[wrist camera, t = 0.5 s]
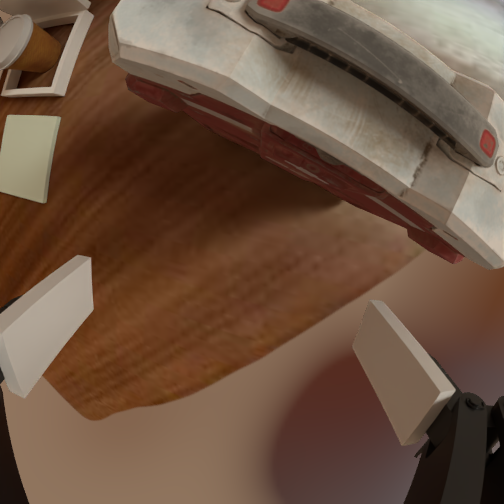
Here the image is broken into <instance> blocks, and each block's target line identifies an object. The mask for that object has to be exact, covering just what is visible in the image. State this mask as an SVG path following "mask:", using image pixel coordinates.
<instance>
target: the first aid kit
mask: <svg viewBox="0 0 504 504" xmlns="http://www.w3.org/2000/svg"><path fill="white" fill-rule="evenodd" d="M109 50H110V54H111V58H112V62H113V63H115V64H116V65H118V66H119V67H121V68H122V69H124V70H125V71H127V72H128V75H127V77H126V79H125V80H126V83H127V87H128V90H130V91H131V92H133V93H135V94H136V95H138V96H140V97H141V98H143V99H145V100H146V101H148V102H150V103H153V104H155V105H158V106H160V107H163V108H166V109H168V110H171V111H173V112H176V113H177V112H179V111H181V110H182V111H184V112H185V113H186V114H188V115H189V116H190V117H192V118H193V119H194V120H196V121H197V122H198V123H200V124H201V125H202V126H204V127H205V128H206V129H208V130H210V131H212V132H214V133H216V134H218V135H220V136H222V137H224V138H226V139H228V140H230V141H232V142H234V143H237V144H239V145H241V146H243V147H245V148H247V149H249V150H251V151H253V152H255V153H257V154H259V155H260V158H262V159H264V160H266V161H268V162H270V163H272V164H274V165H276V166H278V167H280V168H282V169H284V170H285V171H287V172H289V173H291V174H293V175H295V176H297V177H299V178H300V179H302V180H306V181H310V182H313V183H314V184H316V185H318V186H320V187H322V188H323V189H325V190H327V191H329V192H330V193H332V194H334V195H336V196H337V197H339V198H341V199H343V200H344V201H346V202H348V203H350V204H352V205H354V206H355V207H358V208H360V209H363V210H365V211H367V212H370V213H372V214H374V215H377V216H379V217H381V218H384V219H386V220H388V221H391V222H393V223H395V224H397V225H400V226H402V227H404V228H406V229H407V232H408V237H409V238H411V239H412V240H414V241H415V242H416V243H418V244H419V245H421V246H422V247H424V248H425V249H426V250H428V251H430V252H431V253H433V254H435V255H437V256H439V257H441V258H443V259H445V260H447V261H449V262H450V263H452V264H456V263H458V262H460V261H462V260H463V258H464V257H466V258H468V259H469V260H471V261H473V262H475V263H477V264H479V265H481V266H483V267H484V268H486V269H489V270H490V269H497V268H501V267H503V266H504V101H503V100H502V99H501V98H500V96H499V95H498V94H497V93H496V92H495V91H494V90H493V89H492V88H491V87H490V86H488V85H486V84H484V83H482V82H479V81H477V80H475V79H473V78H470V77H468V76H466V75H463V74H461V73H458V72H456V71H453V70H451V69H450V68H449V67H448V66H447V65H446V64H444V63H443V62H442V61H441V60H440V59H438V58H437V57H436V56H435V55H433V54H432V53H431V52H430V51H428V50H427V49H426V48H424V47H423V46H422V45H420V44H419V43H418V42H416V41H415V40H413V39H412V38H411V37H409V36H408V35H406V34H405V33H403V32H402V31H401V30H399V29H398V28H396V27H394V26H393V25H391V24H390V23H388V22H387V21H385V20H383V19H382V18H380V17H379V16H377V15H375V14H373V13H372V12H370V11H368V10H366V9H365V8H363V7H361V6H359V5H357V4H356V3H354V2H352V1H350V0H121V1H120V2H119V4H118V5H117V7H116V8H115V9H114V11H113V12H112V14H111V15H110V21H109Z"/></svg>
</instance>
